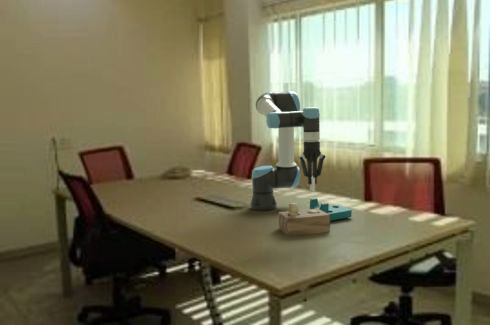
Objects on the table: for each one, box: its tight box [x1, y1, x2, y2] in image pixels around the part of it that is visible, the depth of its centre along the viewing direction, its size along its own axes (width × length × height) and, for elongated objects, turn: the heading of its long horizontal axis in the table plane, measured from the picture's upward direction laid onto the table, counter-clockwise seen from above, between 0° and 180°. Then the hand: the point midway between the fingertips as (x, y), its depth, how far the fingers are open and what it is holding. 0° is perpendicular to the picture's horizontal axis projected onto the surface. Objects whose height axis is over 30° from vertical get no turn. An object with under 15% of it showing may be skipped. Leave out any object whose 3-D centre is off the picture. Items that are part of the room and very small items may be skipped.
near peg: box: [288, 202, 299, 216], centre depth 246 cm, size 4×4×8 cm
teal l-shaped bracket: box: [309, 197, 353, 222], centre depth 267 cm, size 18×11×10 cm, turn 117°
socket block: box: [278, 208, 331, 237], centre depth 248 cm, size 14×20×8 cm
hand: (312, 191), depth 247 cm, fingers closed
